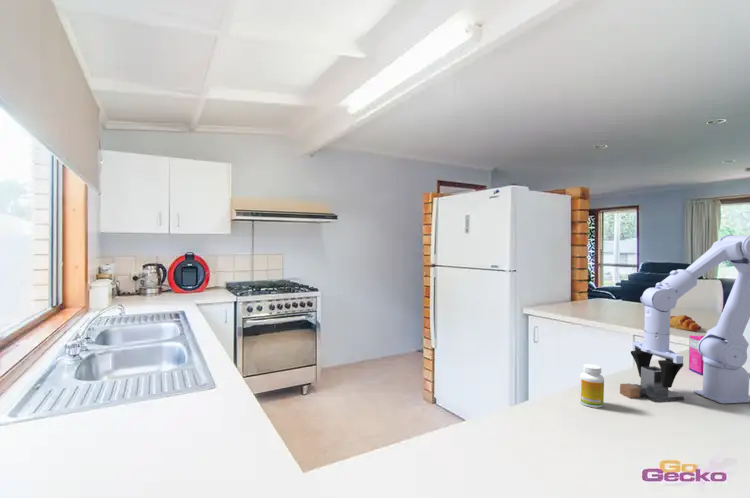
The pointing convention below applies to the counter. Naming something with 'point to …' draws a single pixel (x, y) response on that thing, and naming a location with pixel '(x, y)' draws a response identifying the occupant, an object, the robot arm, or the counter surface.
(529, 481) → the counter surface
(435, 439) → the counter surface
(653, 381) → the hollow square tube
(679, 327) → the croissant
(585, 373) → the supplement bottle
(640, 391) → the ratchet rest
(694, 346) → the supplement box
